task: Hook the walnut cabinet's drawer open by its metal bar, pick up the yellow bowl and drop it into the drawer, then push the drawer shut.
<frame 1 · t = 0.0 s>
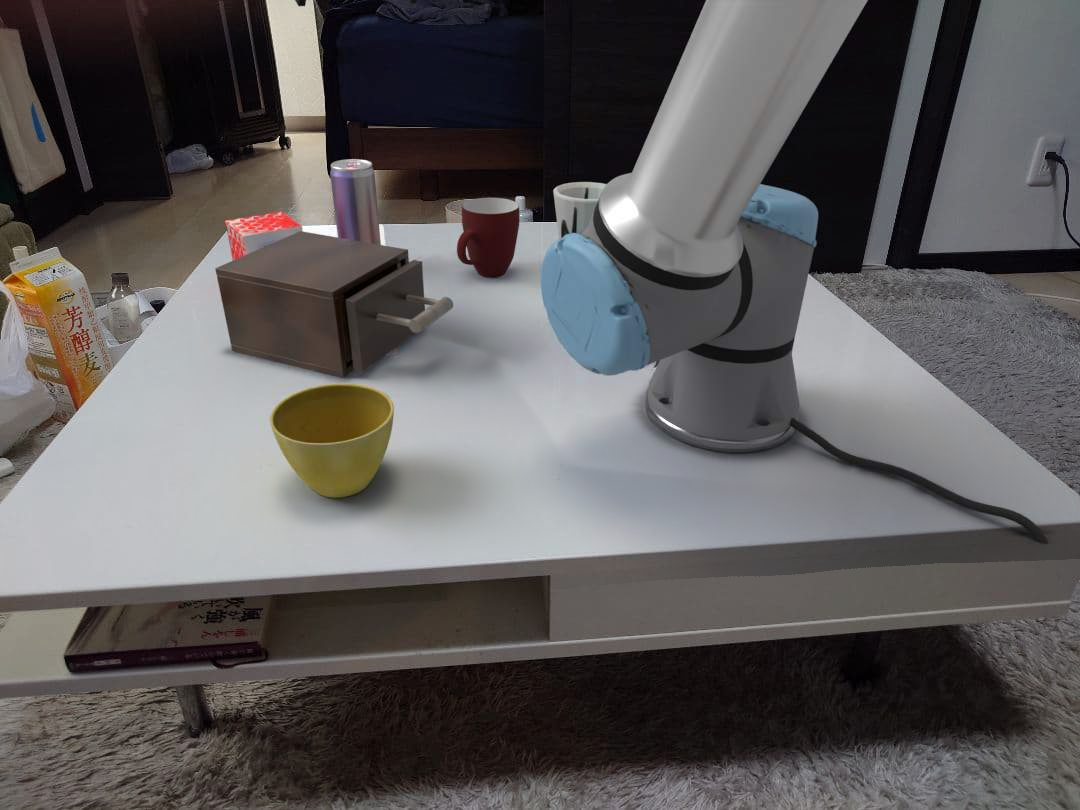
mug: (486, 277, 112), on the table
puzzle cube: (272, 279, 110), on the table
beverage can: (362, 268, 114), on the table
drawer: (361, 308, 89), point 5 cm above the table, slide at 1.0 cm
cabinet: (325, 338, 93), on the table
mug 2: (586, 251, 122), on the table
yellow bowl: (342, 482, 68), on the table
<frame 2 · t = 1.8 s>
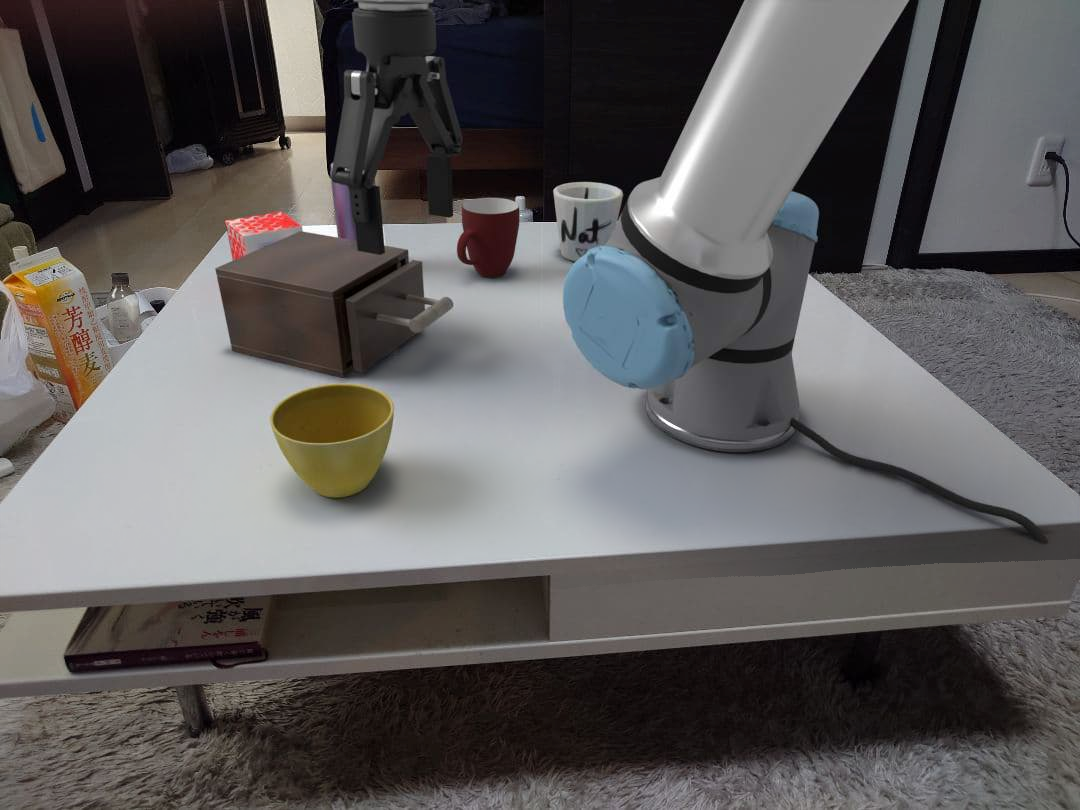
hand: (408, 232, 81), 15 cm above the table, tool pointing down, fingers open, 13 cm apart
nothing on the table moved.
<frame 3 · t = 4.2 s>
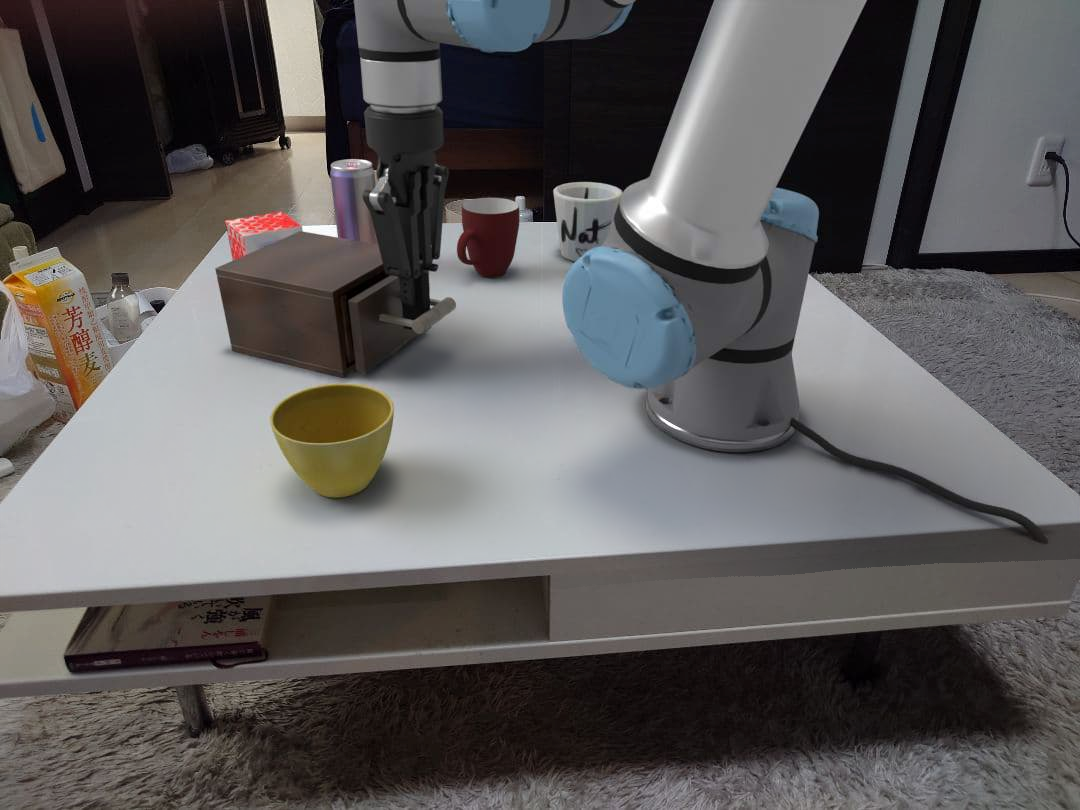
hand: (417, 327, 87), 4 cm above the table, tool pointing down, fingers closed
drawer: (363, 308, 88), point 5 cm above the table, slide at 1.4 cm, touching gripper
everything else where it was.
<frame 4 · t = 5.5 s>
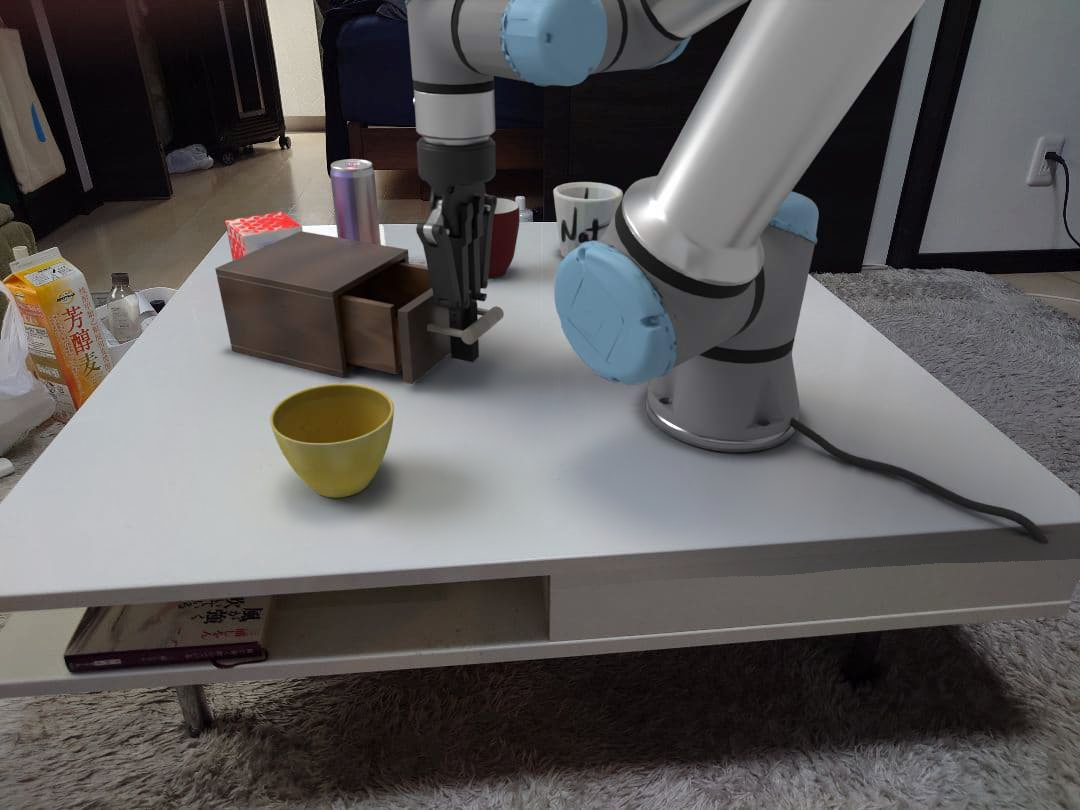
hand: (465, 357, 86), 2 cm above the table, tool pointing down, fingers closed
drawer: (408, 318, 86), point 5 cm above the table, slide at 7.3 cm, touching gripper
everything else where it was.
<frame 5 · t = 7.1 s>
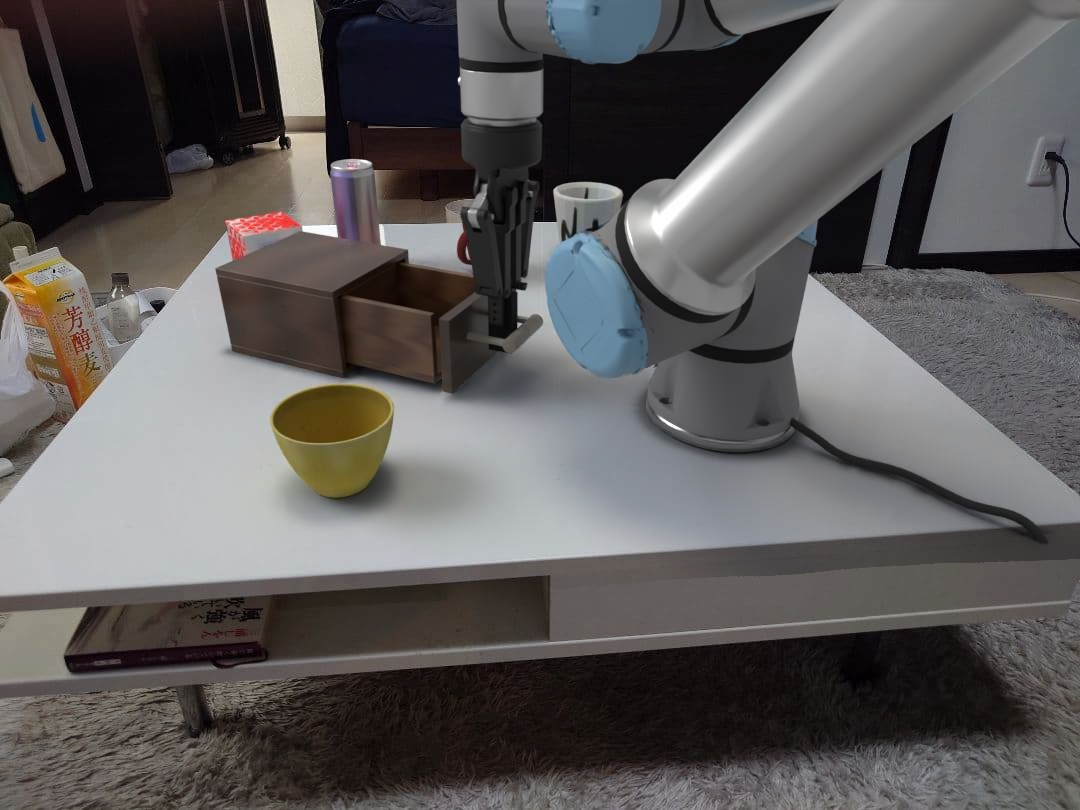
hand: (503, 348, 83), 4 cm above the table, tool pointing down, fingers closed
drawer: (445, 325, 85), point 5 cm above the table, slide at 12.1 cm, touching gripper
everything else where it was.
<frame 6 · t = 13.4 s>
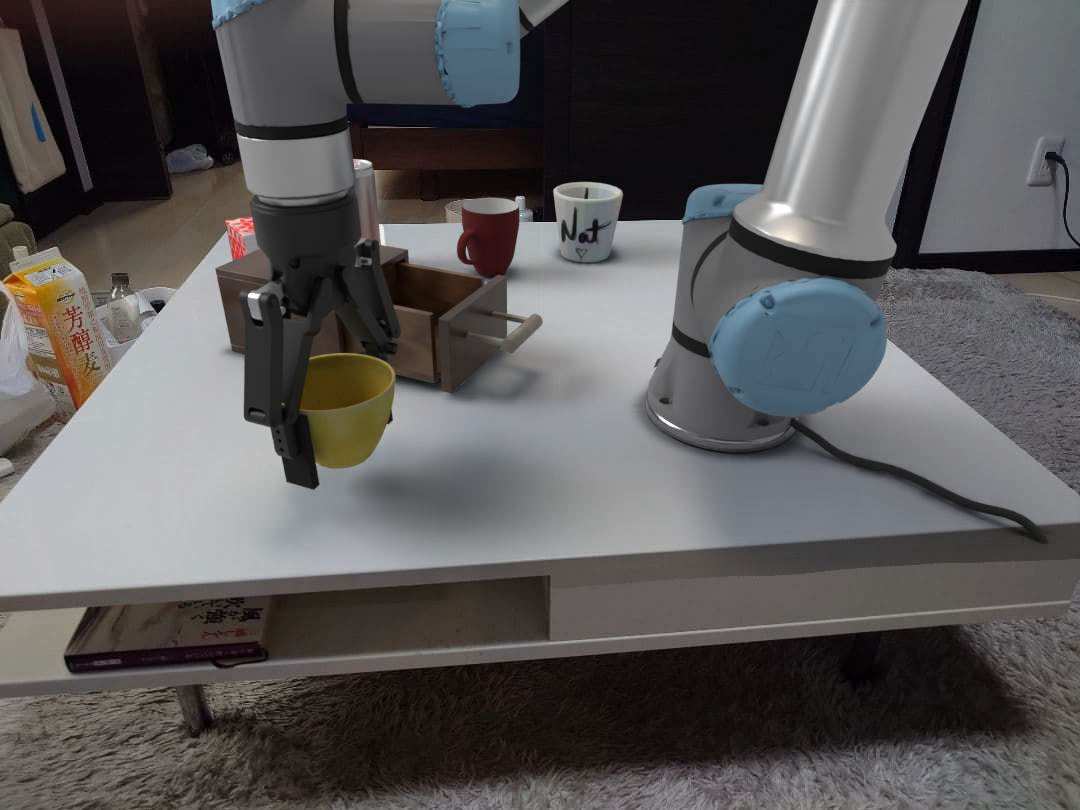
hand: (343, 449, 67), 3 cm above the table, tool pointing down, fingers closed on yellow bowl, 10 cm apart
drawer: (445, 325, 85), point 5 cm above the table, slide at 12.0 cm
yellow bowl: (344, 454, 67), point 3 cm above the table, touching gripper
everything else where it was.
when the fingers open (10 cm above the table, at t = 19.6 s): yellow bowl drops 8 cm, resting on drawer.
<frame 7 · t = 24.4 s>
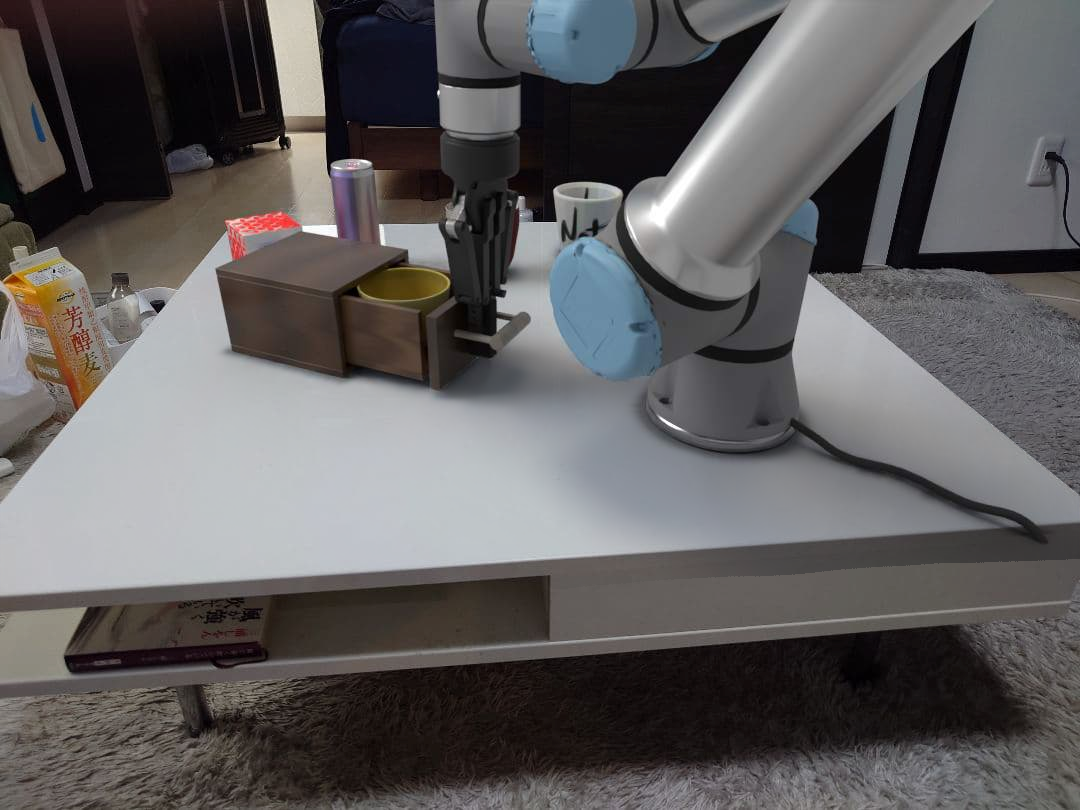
hand: (482, 353, 85), 2 cm above the table, tool pointing down, fingers closed
drawer: (434, 323, 85), point 5 cm above the table, slide at 10.6 cm, touching yellow bowl, gripper
yellow bowl: (408, 343, 88), point 2 cm above the table, touching drawer
everything else where it was.
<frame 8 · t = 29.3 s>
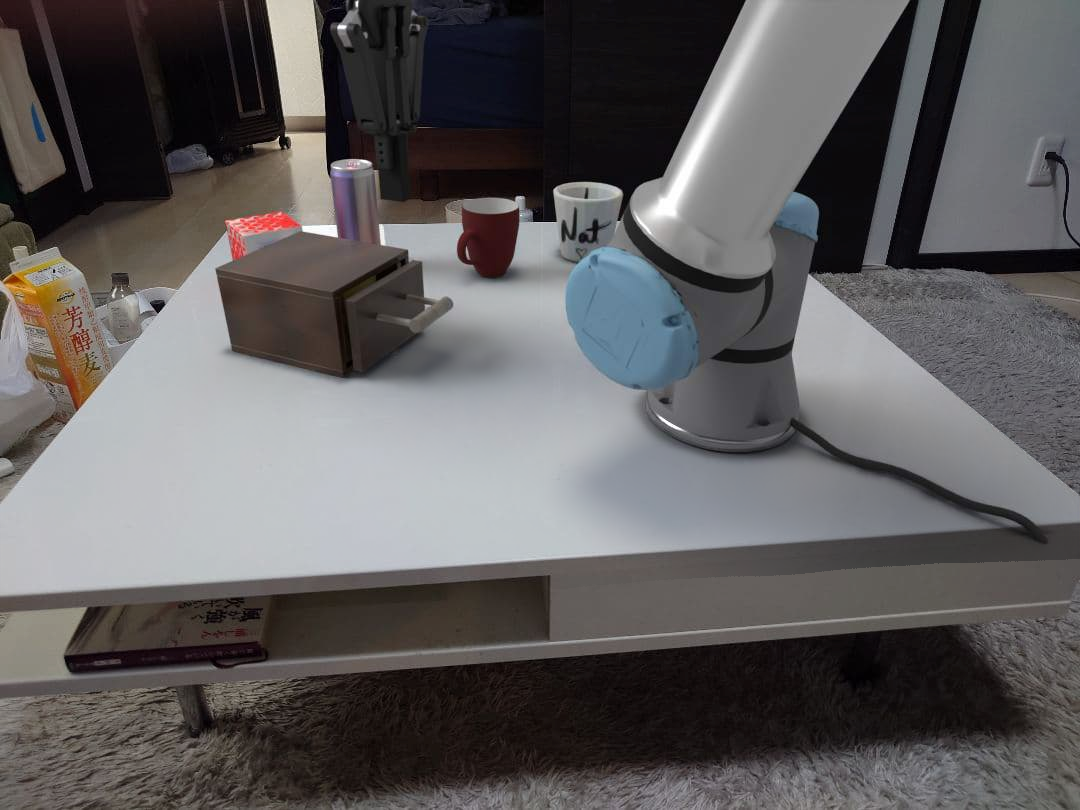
hand: (395, 198, 80), 18 cm above the table, tool pointing down, fingers closed
drawer: (361, 308, 89), point 5 cm above the table, slide at 1.0 cm, touching yellow bowl
yellow bowl: (338, 328, 91), point 2 cm above the table, touching drawer
everything else where it was.
at the end: drawer pulled out 12.1 cm at the most during the clip, back to 1.0 cm at the end; yellow bowl inside the target area in the cabinet (2.1 cm from its centre), point 1.8 cm above the cabinet's base; drawer slide at 1.0 cm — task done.
